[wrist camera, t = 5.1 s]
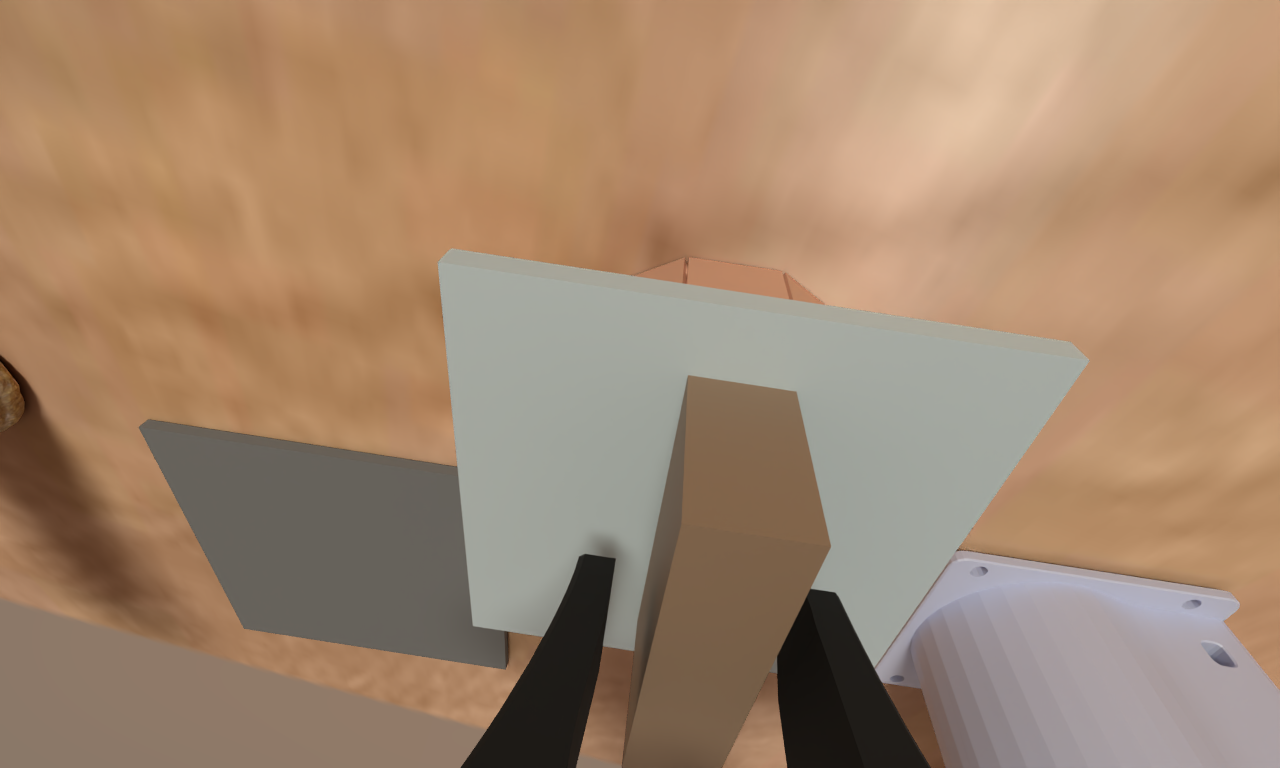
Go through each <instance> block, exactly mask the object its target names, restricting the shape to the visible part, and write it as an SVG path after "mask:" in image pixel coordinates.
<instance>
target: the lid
mask: <svg viewBox="0 0 1280 768" xmlns="http://www.w3.org/2000/svg"><path fill="white" fill-rule="evenodd" d="M438 270H439V280H440V291H441V301H442V311H443V322H444V332H445V342H446V353H447V363H448V373H449V384H450V394H451V404H452V415H453V425H454V435H455V446H456V456H457V466H458V477H459V487H460V497H461V508H462V518H463V529H464V539H465V549H466V560H467V570H468V580H469V591H470V601H471V611H472V622H473V626H476V627H483V628H489V629H495V630H502V631H508V632H515V633H521V634H527V635H534V636H540V637H544V635H545V633H546V631H547V629H548V627H549V626H550V624H551V622H552V620H553V618H554V616H555V614H556V612H557V610H558V608H559V606H560V603H561V601H562V599H563V597H564V595H565V593H566V590H567V588H568V586H569V583H570V581H571V578H572V576H573V573H574V570H575V568H576V564H577V561H578V558H579V556H581V555H583V554H590V555H597V556H603V557H610V558H616V561H615V568H614V574H613V581H612V588H611V595H610V601H609V608H608V615H607V621H606V628H605V634H604V641H603V646H604V647H611V648H617V649H624V650H630V651H634V658H633V667H632V676H631V686H630V695H629V704H628V714H627V723H626V733H625V742H624V751H623V761H622V768H722V767H723V765H724V763H725V761H726V758H727V756H728V754H729V752H730V750H731V748H732V746H733V744H734V742H735V740H736V738H737V736H738V734H739V732H740V730H741V728H742V726H743V724H744V722H745V720H746V718H747V716H748V714H749V712H750V710H751V708H752V706H753V704H754V702H755V700H756V698H757V696H758V694H759V692H760V690H761V688H762V686H763V684H764V682H765V680H766V678H767V676H768V674H769V672H771V673H777V655H778V653H779V651H780V649H781V647H782V645H783V643H784V641H785V639H786V637H787V635H788V633H789V631H790V629H791V627H792V625H793V623H794V621H795V619H796V617H797V615H798V613H799V611H800V609H801V607H802V605H803V603H804V601H805V599H806V597H807V595H808V593H809V591H810V589H817V590H823V591H829V592H835V593H836V594H837V595H838V596H839V598H840V600H841V602H842V605H843V607H844V609H845V611H846V613H847V615H848V617H849V619H850V621H851V623H852V625H853V627H854V629H855V631H856V633H857V635H858V637H859V639H860V641H861V643H862V645H863V647H864V649H865V651H866V653H867V655H868V657H869V659H870V661H871V663H872V665H873V667H875V666H876V665H877V663H878V662H879V660H880V659H881V657H882V656H883V655H884V653H885V652H886V650H887V649H888V647H889V646H890V645H891V643H892V642H893V640H894V639H895V637H896V636H897V635H898V633H899V632H900V630H901V629H902V628H903V626H904V625H905V623H906V622H907V620H908V619H909V618H910V616H911V615H912V613H913V612H914V610H915V609H916V608H917V606H918V605H919V603H920V602H921V600H922V599H923V598H924V596H925V595H926V593H927V592H928V590H929V589H930V588H931V586H932V585H933V583H934V582H935V580H936V579H937V578H938V576H939V575H940V573H941V572H942V570H943V569H944V568H945V566H946V565H947V563H948V562H949V560H950V559H951V558H952V556H953V555H954V553H955V552H956V550H957V549H958V548H959V546H960V545H961V543H962V542H963V541H964V539H965V538H966V536H967V535H968V533H969V532H970V531H971V529H972V528H973V526H974V525H975V523H976V522H977V521H978V519H979V518H980V516H981V515H982V513H983V512H984V511H985V509H986V508H987V506H988V505H989V503H990V502H991V501H992V499H993V498H994V496H995V495H996V493H997V492H998V491H999V489H1000V488H1001V486H1002V485H1003V483H1004V482H1005V481H1006V479H1007V478H1008V476H1009V475H1010V473H1011V472H1012V471H1013V469H1014V468H1015V466H1016V465H1017V463H1018V462H1019V461H1020V459H1021V458H1022V456H1023V455H1024V454H1025V452H1026V451H1027V449H1028V448H1029V446H1030V445H1031V444H1032V442H1033V441H1034V439H1035V438H1036V436H1037V435H1038V434H1039V432H1040V431H1041V429H1042V428H1043V426H1044V425H1045V424H1046V422H1047V421H1048V419H1049V418H1050V416H1051V415H1052V414H1053V412H1054V411H1055V409H1056V408H1057V406H1058V405H1059V404H1060V402H1061V401H1062V399H1063V398H1064V396H1065V395H1066V394H1067V392H1068V391H1069V389H1070V388H1071V386H1072V385H1073V384H1074V382H1075V381H1076V379H1077V378H1078V376H1079V375H1080V374H1081V372H1082V371H1083V369H1084V368H1085V367H1086V365H1087V364H1088V362H1089V361H1090V360H1089V359H1088V358H1087V357H1086V356H1085V355H1083V354H1082V353H1081V352H1080V351H1079V350H1078V349H1077V348H1076V347H1075V346H1074V345H1073V344H1072V343H1071V342H1067V341H1061V340H1054V339H1048V338H1041V337H1034V336H1028V335H1021V334H1014V333H1008V332H1001V331H995V330H988V329H981V328H975V327H968V326H961V325H955V324H948V323H942V322H935V321H928V320H922V319H915V318H908V317H902V316H895V315H889V314H882V313H875V312H869V311H862V310H855V309H849V308H842V307H836V306H829V305H822V304H816V303H809V302H802V301H796V300H789V299H783V298H776V297H769V296H763V295H756V294H750V293H743V292H736V291H730V290H723V289H716V288H710V287H703V286H697V285H690V284H683V283H677V282H670V281H663V280H657V279H650V278H644V277H637V276H630V275H624V274H617V273H610V272H604V271H597V270H591V269H584V268H577V267H571V266H564V265H557V264H551V263H544V262H538V261H531V260H524V259H518V258H511V257H504V256H498V255H491V254H485V253H478V252H471V251H465V250H458V249H450V250H449V251H448V252H447V253H446V254H445V255H444V256H443V257H442V258H441V259H440V260H439V261H438Z"/></svg>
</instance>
